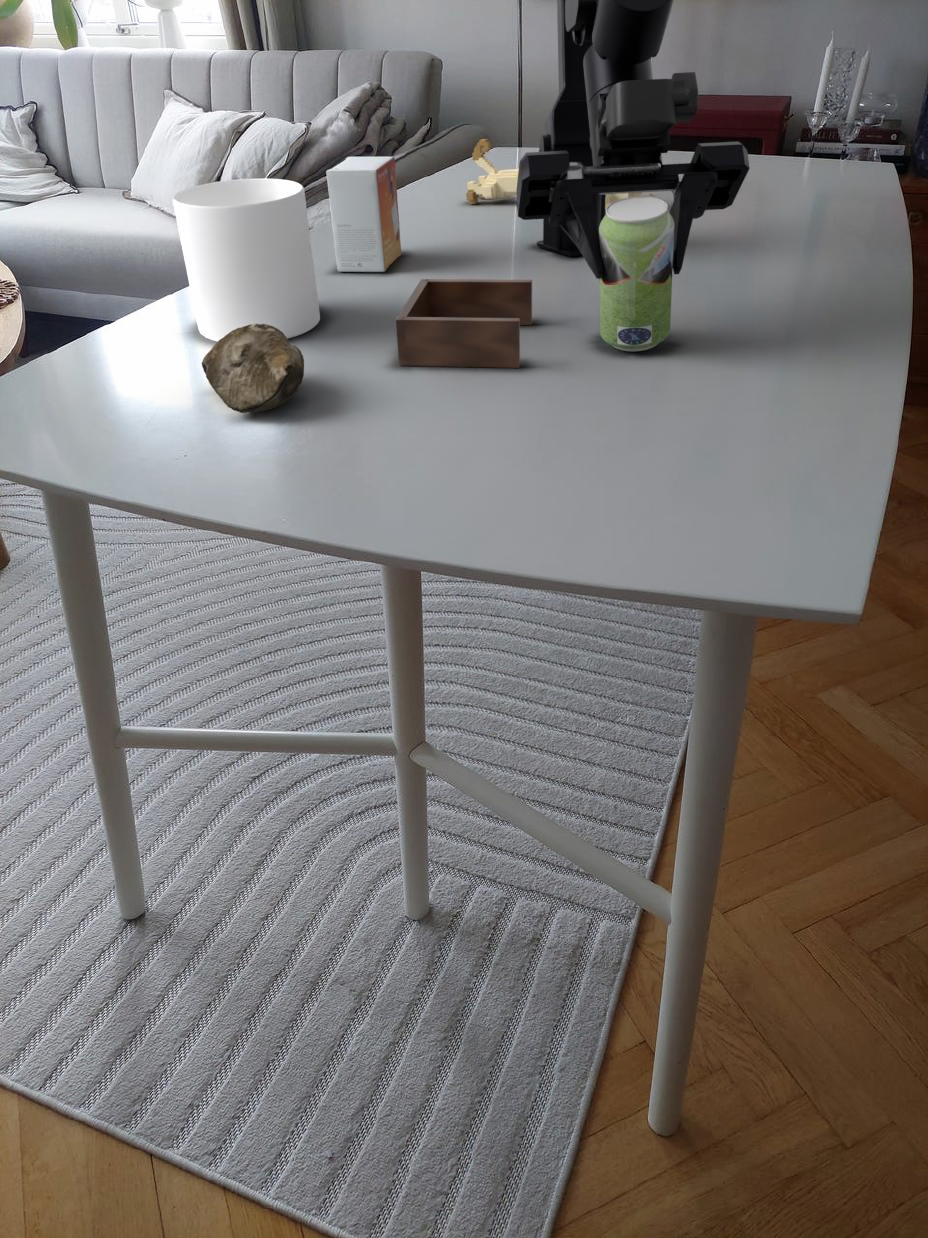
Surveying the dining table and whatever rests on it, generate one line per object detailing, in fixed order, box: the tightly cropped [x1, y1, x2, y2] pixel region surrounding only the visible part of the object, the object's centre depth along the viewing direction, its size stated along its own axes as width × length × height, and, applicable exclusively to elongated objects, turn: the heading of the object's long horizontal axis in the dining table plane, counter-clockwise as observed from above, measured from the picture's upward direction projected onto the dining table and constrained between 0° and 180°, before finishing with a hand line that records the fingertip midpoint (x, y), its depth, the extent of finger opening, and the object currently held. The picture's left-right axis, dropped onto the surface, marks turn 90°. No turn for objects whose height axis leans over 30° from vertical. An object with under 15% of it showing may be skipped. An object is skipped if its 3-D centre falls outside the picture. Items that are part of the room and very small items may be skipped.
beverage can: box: [599, 196, 674, 352], centre depth 81 cm, size 6×7×12 cm
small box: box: [325, 156, 402, 273], centre depth 106 cm, size 8×6×10 cm
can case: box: [395, 278, 533, 369], centre depth 86 cm, size 10×12×4 cm
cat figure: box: [465, 138, 656, 210], centre depth 126 cm, size 10×9×25 cm
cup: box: [172, 177, 321, 343], centre depth 90 cm, size 12×12×12 cm
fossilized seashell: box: [201, 324, 305, 414], centre depth 77 cm, size 8×7×10 cm
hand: (639, 273), depth 80 cm, fingers open, 6 cm apart
